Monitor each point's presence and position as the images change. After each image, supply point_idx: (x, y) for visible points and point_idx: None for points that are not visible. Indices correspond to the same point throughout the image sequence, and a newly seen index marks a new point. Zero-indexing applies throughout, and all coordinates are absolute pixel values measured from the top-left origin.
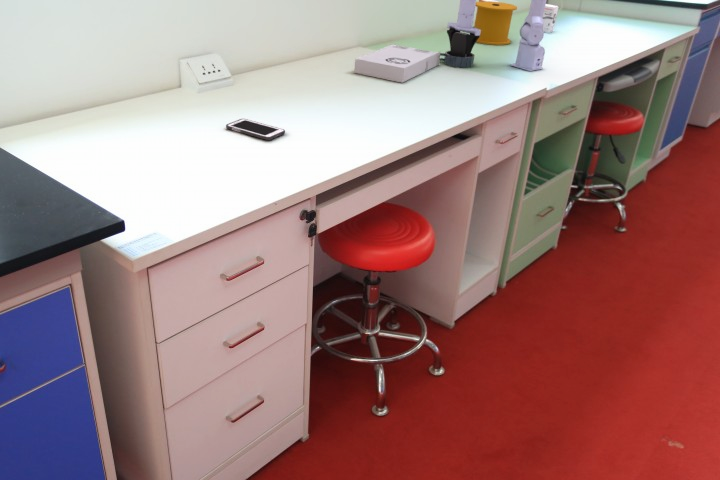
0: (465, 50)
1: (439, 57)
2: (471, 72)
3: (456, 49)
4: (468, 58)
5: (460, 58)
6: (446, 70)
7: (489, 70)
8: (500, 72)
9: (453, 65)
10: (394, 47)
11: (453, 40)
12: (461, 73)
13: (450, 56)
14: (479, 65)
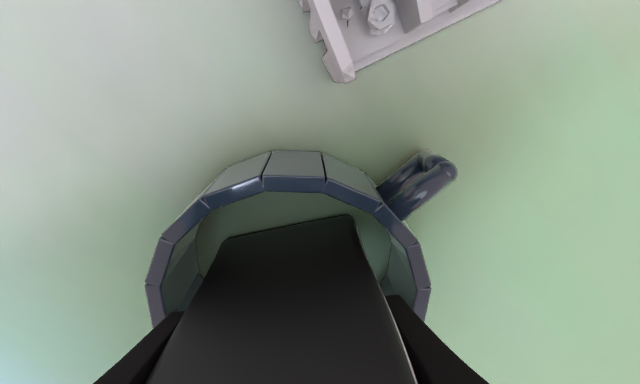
0: (172, 333)
1: (332, 66)
2: (45, 180)
3: (291, 297)
4: (151, 288)
5: (174, 222)
6: (147, 3)
7: (84, 332)
8: (24, 359)
9: (234, 164)
10: None
11: (368, 370)
12: (19, 68)
13: (264, 172)
14: None
